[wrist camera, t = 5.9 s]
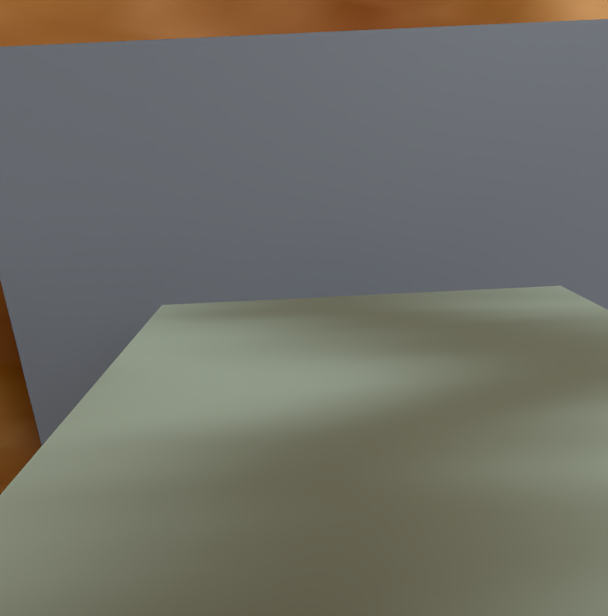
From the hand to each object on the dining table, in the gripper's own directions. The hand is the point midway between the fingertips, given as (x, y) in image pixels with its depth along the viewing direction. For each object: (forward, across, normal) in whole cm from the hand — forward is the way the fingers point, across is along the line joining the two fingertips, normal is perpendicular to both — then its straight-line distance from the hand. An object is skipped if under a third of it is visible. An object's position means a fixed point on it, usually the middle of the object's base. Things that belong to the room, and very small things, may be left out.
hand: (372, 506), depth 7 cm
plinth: (+8, 0, 0) cm, 8 cm away
